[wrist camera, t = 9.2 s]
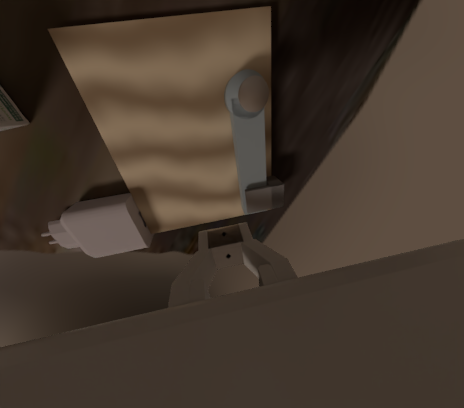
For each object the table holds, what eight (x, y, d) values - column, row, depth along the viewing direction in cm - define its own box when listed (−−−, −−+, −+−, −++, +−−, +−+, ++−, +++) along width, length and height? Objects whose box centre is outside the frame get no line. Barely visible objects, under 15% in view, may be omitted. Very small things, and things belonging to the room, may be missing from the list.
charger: (37, 207, 26) (135, 190, 28) (73, 248, 31) (154, 231, 33) (9, 225, 22) (124, 204, 24) (55, 269, 27) (148, 249, 28)
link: (220, 76, 20) (223, 72, 18) (260, 70, 21) (267, 66, 19) (239, 208, 31) (242, 215, 28) (265, 202, 31) (270, 209, 29)
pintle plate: (58, 34, 18) (-15, -3, 12) (270, 12, 20) (302, -30, 14) (153, 228, 32) (142, 257, 26) (270, 204, 34) (286, 226, 28)
